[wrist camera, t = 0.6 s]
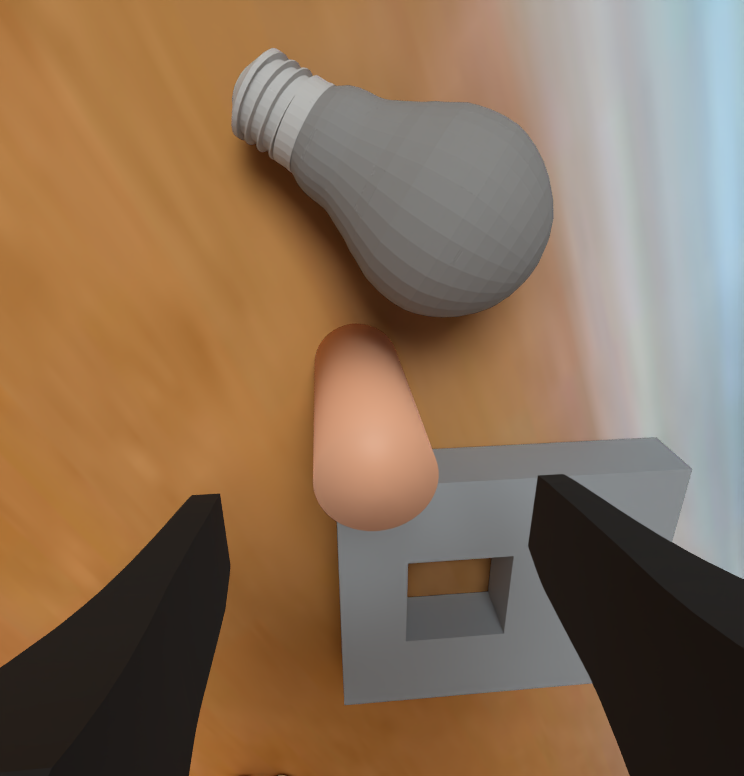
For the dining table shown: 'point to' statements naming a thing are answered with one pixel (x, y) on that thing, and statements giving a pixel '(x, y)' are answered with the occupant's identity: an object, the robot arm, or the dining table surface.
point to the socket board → (507, 574)
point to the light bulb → (406, 183)
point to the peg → (368, 434)
